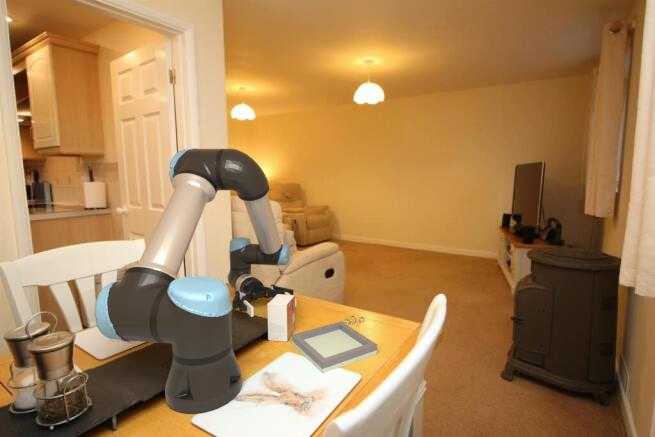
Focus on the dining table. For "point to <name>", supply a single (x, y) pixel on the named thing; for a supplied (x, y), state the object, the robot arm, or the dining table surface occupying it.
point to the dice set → (352, 321)
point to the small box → (281, 317)
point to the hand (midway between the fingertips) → (274, 307)
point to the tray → (333, 346)
